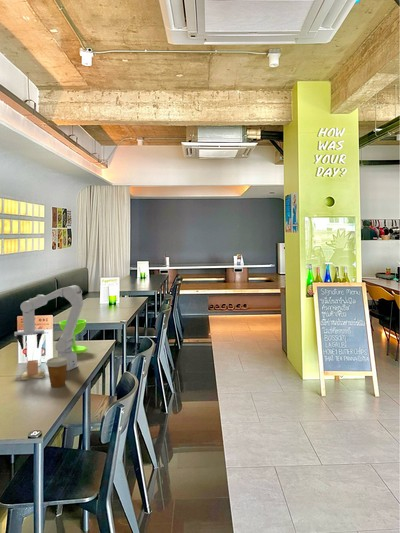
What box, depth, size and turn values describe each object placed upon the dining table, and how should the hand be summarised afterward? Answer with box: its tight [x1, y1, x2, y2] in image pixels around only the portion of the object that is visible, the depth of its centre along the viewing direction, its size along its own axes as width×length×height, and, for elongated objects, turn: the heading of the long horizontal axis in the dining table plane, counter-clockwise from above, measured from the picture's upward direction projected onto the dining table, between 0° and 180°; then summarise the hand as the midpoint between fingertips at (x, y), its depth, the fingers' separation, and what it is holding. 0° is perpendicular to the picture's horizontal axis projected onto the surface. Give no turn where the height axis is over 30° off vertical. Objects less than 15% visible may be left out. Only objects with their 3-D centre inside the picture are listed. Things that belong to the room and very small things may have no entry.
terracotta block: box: [26, 359, 39, 375], centre depth 201 cm, size 4×4×6 cm
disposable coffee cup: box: [45, 356, 68, 388], centre depth 188 cm, size 10×10×12 cm
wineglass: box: [58, 318, 88, 354], centre depth 248 cm, size 16×16×18 cm
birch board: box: [20, 370, 45, 381], centre depth 201 cm, size 10×7×2 cm
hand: (30, 348), depth 215 cm, fingers open, 7 cm apart
